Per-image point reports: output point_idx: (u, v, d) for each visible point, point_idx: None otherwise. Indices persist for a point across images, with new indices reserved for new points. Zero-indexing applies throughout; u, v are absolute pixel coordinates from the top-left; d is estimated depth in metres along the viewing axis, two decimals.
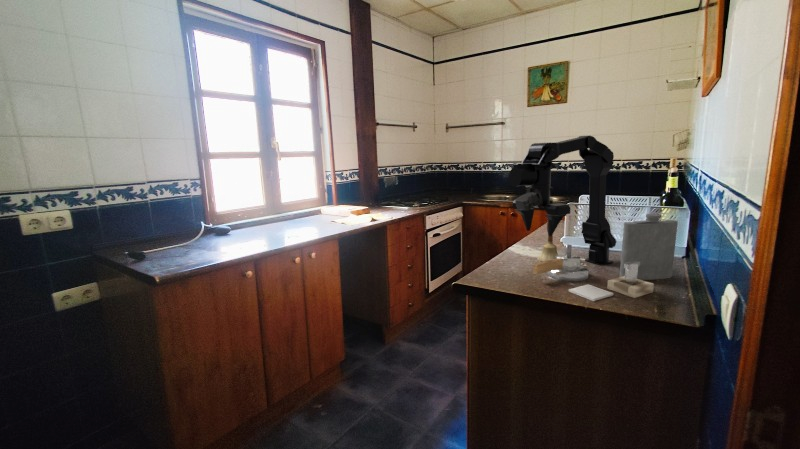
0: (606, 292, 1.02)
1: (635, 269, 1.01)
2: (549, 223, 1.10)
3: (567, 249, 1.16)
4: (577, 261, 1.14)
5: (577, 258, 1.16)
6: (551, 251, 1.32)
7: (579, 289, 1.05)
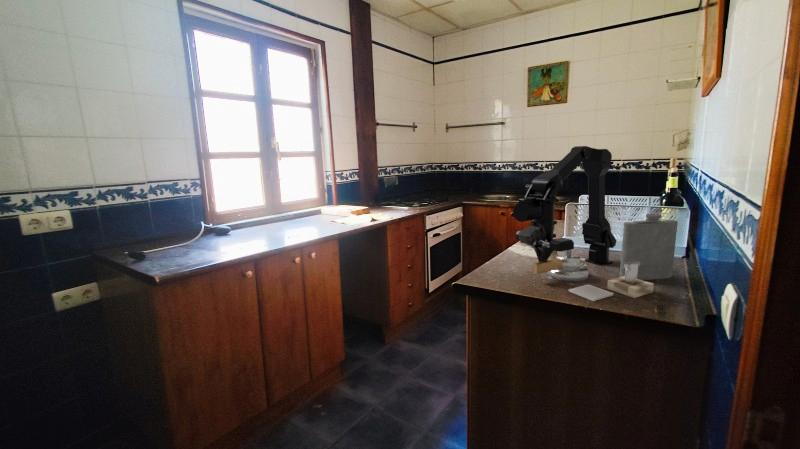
0: (606, 292, 1.02)
1: (635, 269, 1.01)
2: (541, 254, 1.14)
3: None
4: (577, 261, 1.14)
5: (577, 258, 1.16)
6: None
7: (579, 289, 1.05)
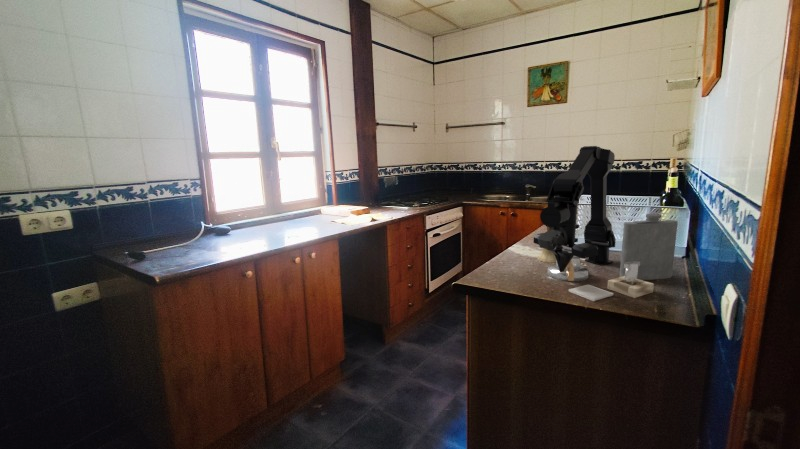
0: (606, 292, 1.02)
1: (635, 269, 1.01)
2: (561, 259, 1.07)
3: None
4: None
5: None
6: None
7: (579, 289, 1.05)
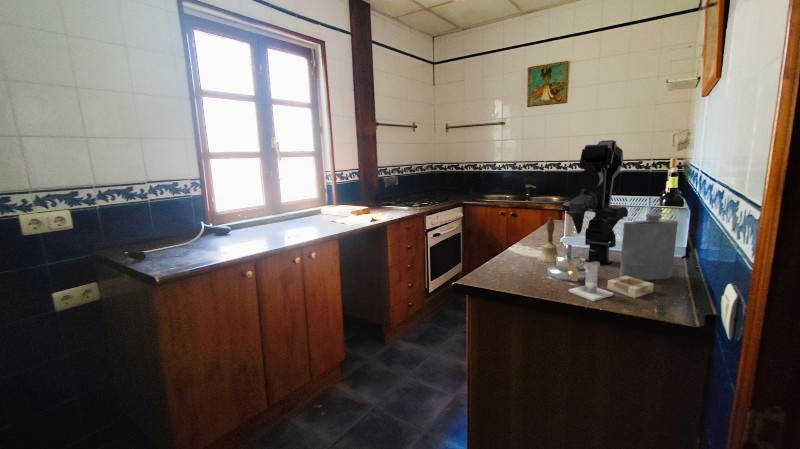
0: (606, 292, 1.02)
1: (595, 270, 1.00)
2: (605, 226, 1.08)
3: (569, 249, 1.16)
4: (579, 259, 1.17)
5: (576, 256, 1.18)
6: (551, 251, 1.32)
7: (579, 289, 1.05)
